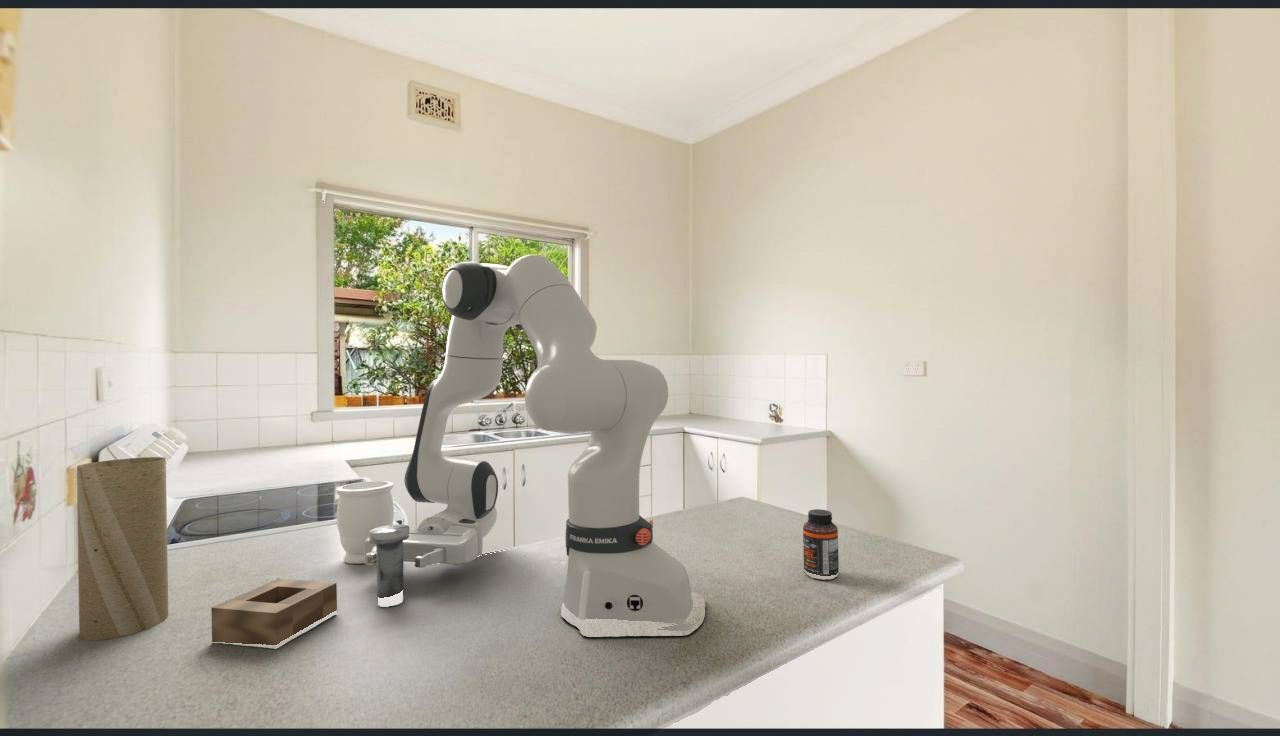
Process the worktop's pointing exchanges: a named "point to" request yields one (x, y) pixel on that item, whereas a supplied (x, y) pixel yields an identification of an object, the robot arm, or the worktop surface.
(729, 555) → the worktop surface
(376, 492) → the jar
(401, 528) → the pin
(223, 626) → the block
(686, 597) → the robot arm
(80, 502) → the tube
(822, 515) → the supplement bottle
